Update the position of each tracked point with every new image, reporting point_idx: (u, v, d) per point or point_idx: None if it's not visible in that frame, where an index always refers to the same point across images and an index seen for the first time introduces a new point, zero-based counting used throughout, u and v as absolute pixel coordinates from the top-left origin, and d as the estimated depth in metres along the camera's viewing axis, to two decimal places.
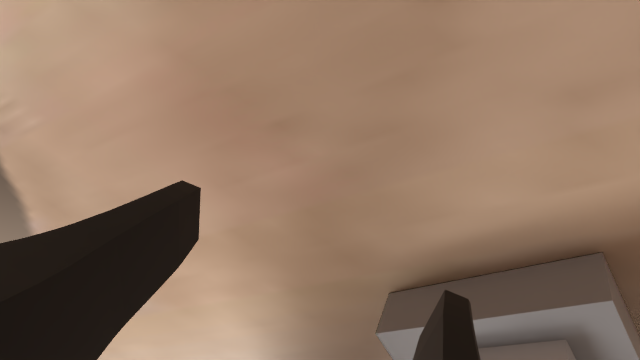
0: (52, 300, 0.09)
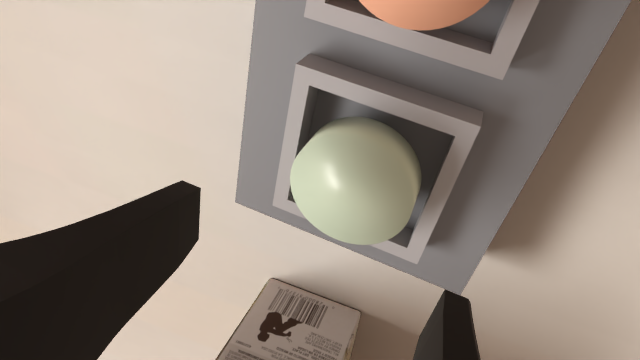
0: (52, 300, 0.09)
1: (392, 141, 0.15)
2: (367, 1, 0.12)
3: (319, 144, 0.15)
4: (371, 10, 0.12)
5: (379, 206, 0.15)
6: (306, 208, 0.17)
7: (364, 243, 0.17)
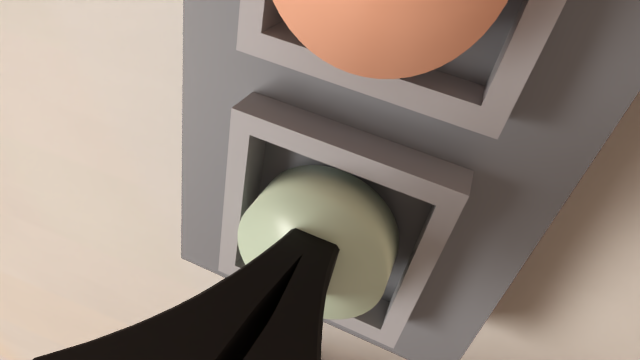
0: None
1: (360, 199, 0.12)
2: (306, 37, 0.09)
3: (269, 202, 0.12)
4: (313, 50, 0.09)
5: (345, 277, 0.12)
6: None
7: (330, 317, 0.13)
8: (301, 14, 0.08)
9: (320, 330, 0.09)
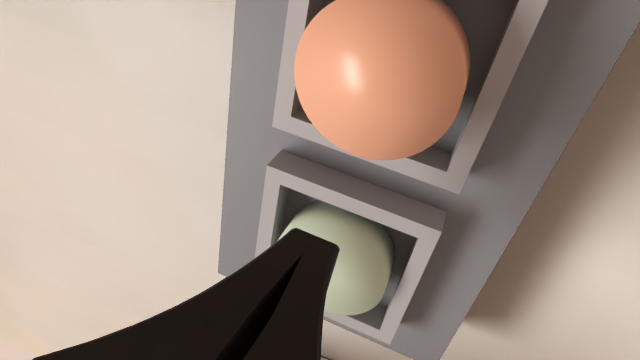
0: None
1: (365, 227, 0.16)
2: (325, 131, 0.13)
3: None
4: (329, 139, 0.13)
5: (355, 284, 0.17)
6: None
7: (343, 313, 0.18)
8: (321, 117, 0.13)
9: (320, 330, 0.09)
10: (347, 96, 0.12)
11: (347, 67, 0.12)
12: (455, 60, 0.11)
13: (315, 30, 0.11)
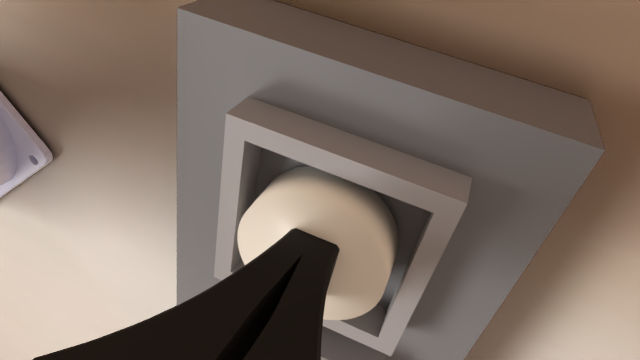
0: None
1: None
2: None
3: None
4: None
5: None
6: None
7: None
8: None
9: (320, 330, 0.09)
10: None
11: None
12: None
13: None
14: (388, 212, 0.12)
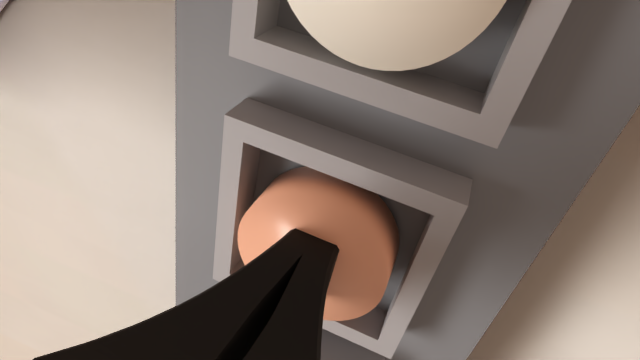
0: None
1: None
2: None
3: None
4: None
5: None
6: None
7: None
8: None
9: (320, 330, 0.09)
10: None
11: None
12: (378, 257, 0.12)
13: (254, 215, 0.12)
14: None
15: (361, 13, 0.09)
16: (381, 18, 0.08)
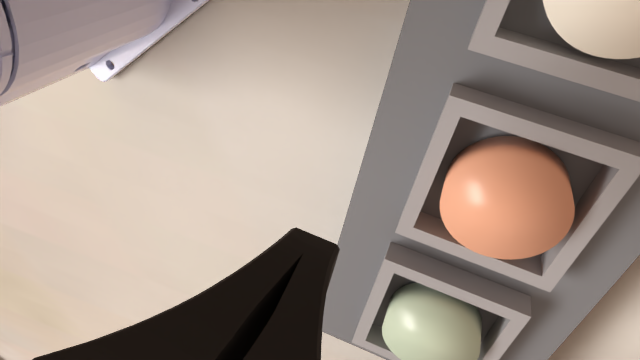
0: None
1: (464, 307, 0.20)
2: (458, 237, 0.17)
3: (409, 309, 0.20)
4: (460, 242, 0.17)
5: (452, 351, 0.21)
6: (393, 345, 0.22)
7: None
8: (457, 228, 0.17)
9: (320, 330, 0.09)
10: (480, 216, 0.17)
11: (484, 199, 0.16)
12: (569, 203, 0.15)
13: (463, 174, 0.16)
14: None
15: (605, 18, 0.12)
16: (621, 21, 0.12)
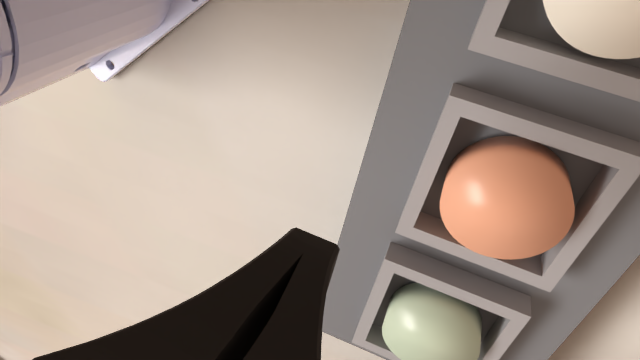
0: None
1: (464, 307, 0.20)
2: (458, 237, 0.17)
3: (409, 309, 0.20)
4: (460, 242, 0.17)
5: (452, 351, 0.21)
6: (393, 345, 0.22)
7: None
8: (457, 228, 0.17)
9: (320, 330, 0.09)
10: (480, 216, 0.17)
11: (484, 199, 0.16)
12: (569, 203, 0.15)
13: (463, 174, 0.16)
14: None
15: (605, 18, 0.12)
16: (621, 21, 0.12)
